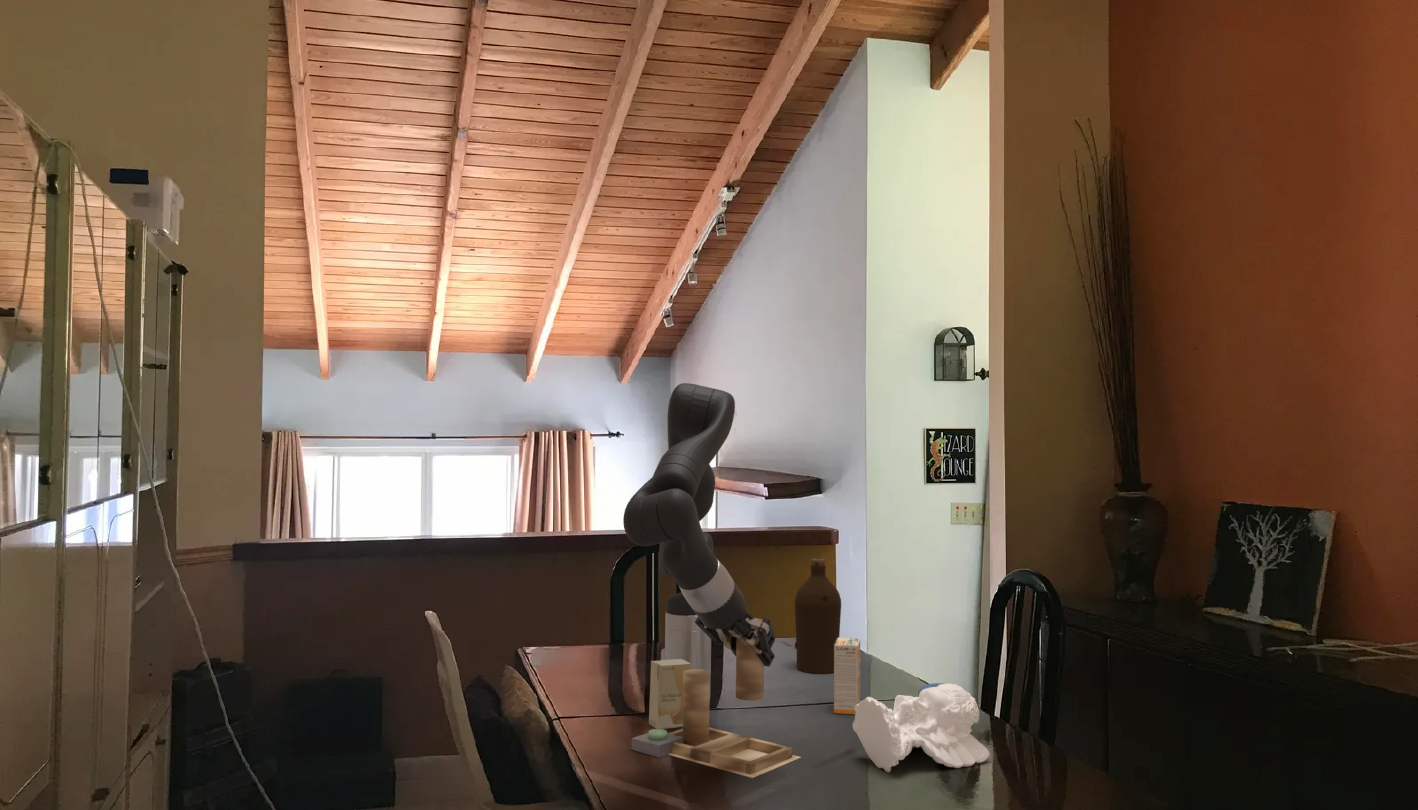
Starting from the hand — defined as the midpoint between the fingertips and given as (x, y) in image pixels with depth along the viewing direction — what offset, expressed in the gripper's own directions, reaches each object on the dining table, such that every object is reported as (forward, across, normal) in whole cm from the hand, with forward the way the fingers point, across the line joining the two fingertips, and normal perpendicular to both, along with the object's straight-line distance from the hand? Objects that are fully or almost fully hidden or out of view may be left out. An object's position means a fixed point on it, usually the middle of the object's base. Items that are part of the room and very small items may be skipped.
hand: (757, 659), depth 157 cm
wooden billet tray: (+10, +6, +13) cm, 18 cm away
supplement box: (+39, +6, -16) cm, 43 cm away
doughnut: (+50, -7, -26) cm, 56 cm away
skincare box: (+15, +22, +8) cm, 28 cm away
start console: (+7, +14, +17) cm, 23 cm away
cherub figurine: (+26, -18, -2) cm, 32 cm away
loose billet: (+3, 0, +5) cm, 6 cm away
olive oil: (+57, +30, -33) cm, 72 cm away
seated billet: (+10, +11, +12) cm, 19 cm away
